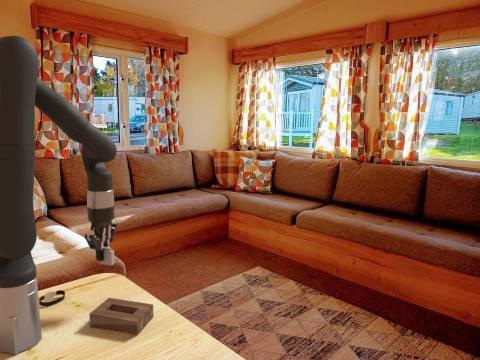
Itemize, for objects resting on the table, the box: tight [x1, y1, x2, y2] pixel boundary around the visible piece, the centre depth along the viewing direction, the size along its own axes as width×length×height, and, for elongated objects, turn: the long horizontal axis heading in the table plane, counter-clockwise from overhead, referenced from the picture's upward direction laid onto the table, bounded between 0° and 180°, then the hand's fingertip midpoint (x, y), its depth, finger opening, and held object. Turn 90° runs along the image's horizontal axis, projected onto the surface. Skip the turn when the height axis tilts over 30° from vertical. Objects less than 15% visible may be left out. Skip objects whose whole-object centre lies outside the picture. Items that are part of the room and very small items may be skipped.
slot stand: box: [89, 297, 155, 336], centre depth 101 cm, size 9×15×4 cm, turn 76°
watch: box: [38, 289, 66, 307], centre depth 111 cm, size 8×5×4 cm, turn 142°
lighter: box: [94, 242, 115, 266], centre depth 108 cm, size 7×2×8 cm, turn 77°
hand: (102, 258), depth 109 cm, fingers closed on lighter, 2 cm apart
